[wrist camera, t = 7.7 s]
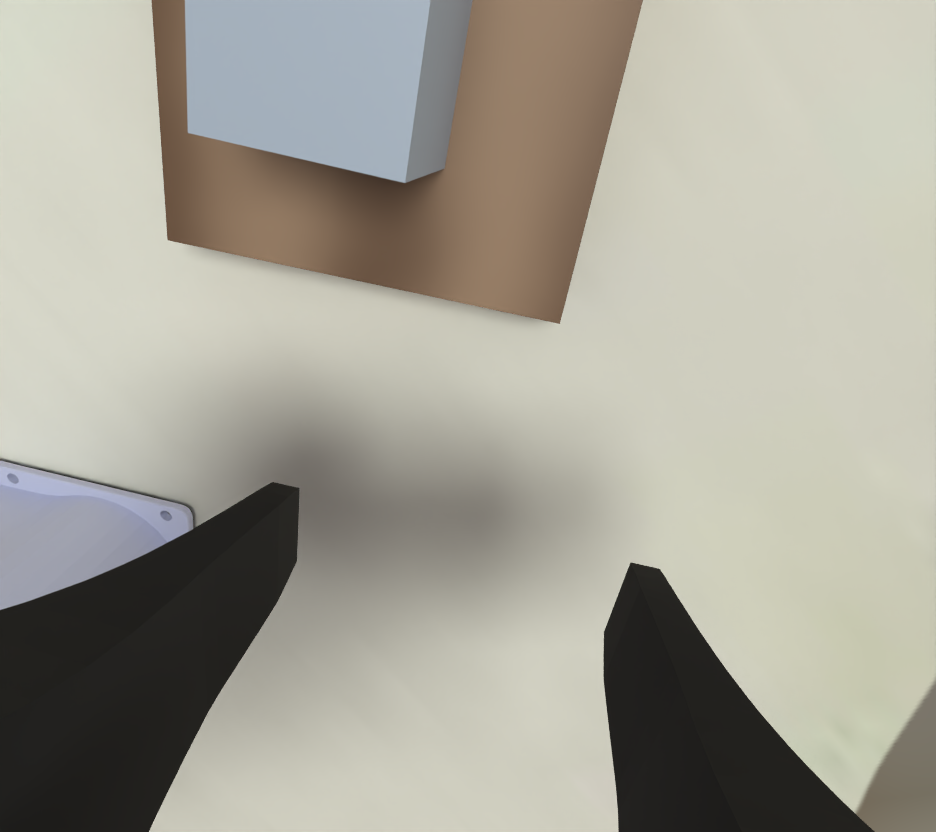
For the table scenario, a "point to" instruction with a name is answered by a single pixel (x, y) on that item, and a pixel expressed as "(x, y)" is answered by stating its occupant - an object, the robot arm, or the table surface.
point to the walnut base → (437, 194)
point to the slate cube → (329, 79)
